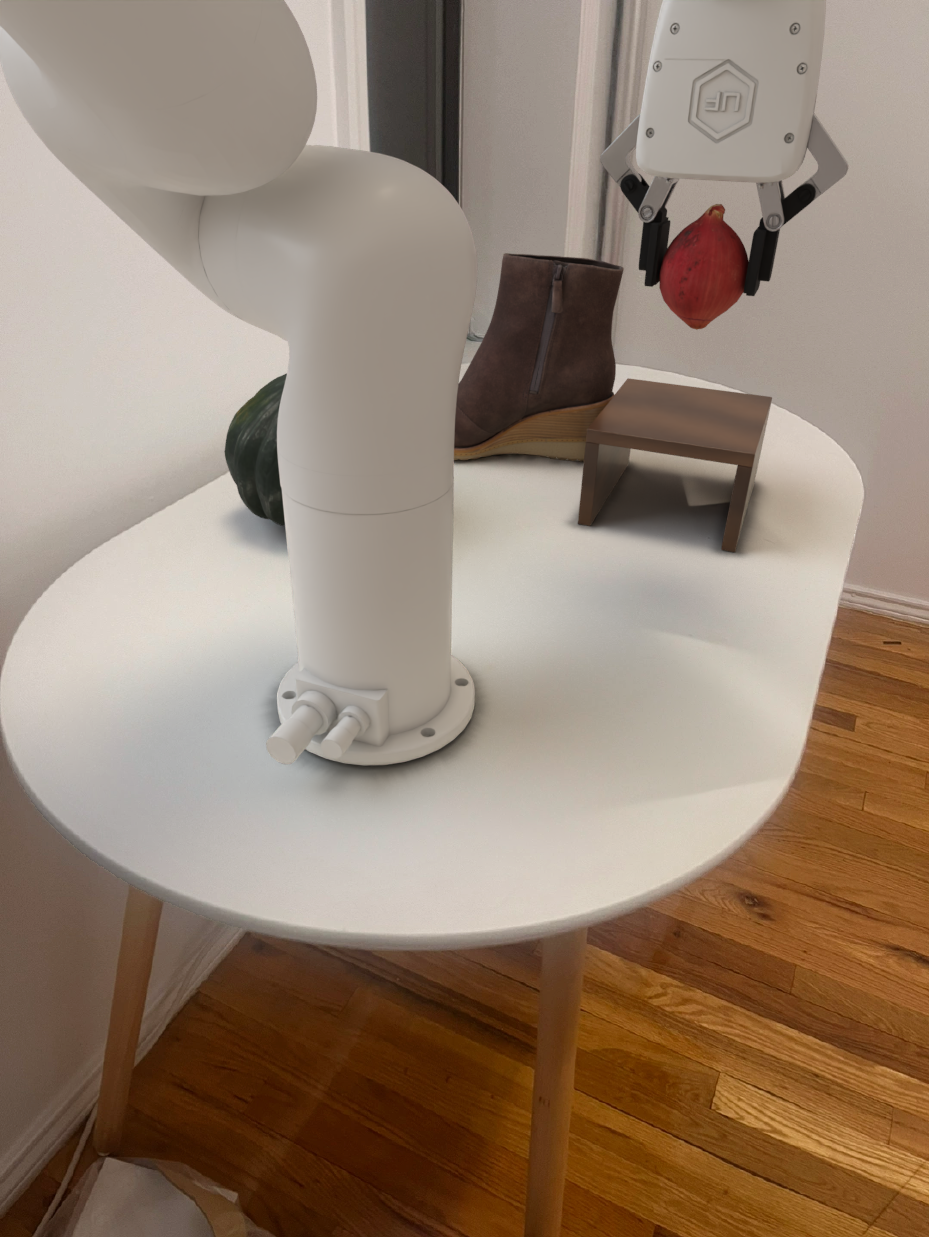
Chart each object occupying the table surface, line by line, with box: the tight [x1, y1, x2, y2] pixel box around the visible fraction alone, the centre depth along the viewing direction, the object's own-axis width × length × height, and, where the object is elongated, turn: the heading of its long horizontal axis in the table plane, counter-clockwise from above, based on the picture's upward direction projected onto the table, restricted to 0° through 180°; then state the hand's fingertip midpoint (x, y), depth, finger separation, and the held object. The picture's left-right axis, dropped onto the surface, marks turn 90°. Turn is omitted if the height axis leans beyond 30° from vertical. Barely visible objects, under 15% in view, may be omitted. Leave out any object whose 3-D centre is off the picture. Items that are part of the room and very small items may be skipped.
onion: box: [659, 203, 749, 331], centre depth 60 cm, size 6×6×8 cm
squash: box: [224, 372, 287, 527], centre depth 77 cm, size 14×15×15 cm
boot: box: [454, 252, 625, 462], centre depth 90 cm, size 9×24×20 cm, turn 84°
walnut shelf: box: [577, 377, 773, 553], centre depth 82 cm, size 16×14×9 cm
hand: (702, 284), depth 60 cm, fingers closed on onion, 6 cm apart
